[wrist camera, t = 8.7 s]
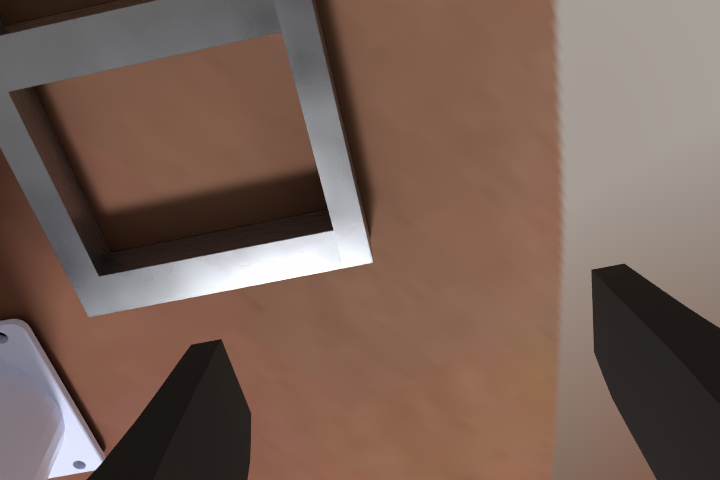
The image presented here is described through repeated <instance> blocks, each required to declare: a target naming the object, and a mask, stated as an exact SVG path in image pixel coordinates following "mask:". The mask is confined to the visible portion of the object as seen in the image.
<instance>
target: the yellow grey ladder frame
mask: <svg viewBox="0 0 720 480" xmlns="http://www.w3.org/2000/svg"><path fill="white" fill-rule="evenodd" d="M279 32H282V35H283V39H284V43H285V46H286V50H287V54H288V58H289V62H290V65H291V69H292V73H293V77H294V81H295V85H296V88H297V92H298V96H299V100H300V104H301V107H302V111H303V115H304V119H305V123H306V127H307V130H308V134H309V138H310V142H311V146H312V149H313V153H314V157H315V161H316V165H317V168H318V172H319V176H320V180H321V184H322V188H323V191H324V195H325V199H326V203H327V207H328V210H323V211H318V212H313V213H307V214H302V215H297V216H292V217H287V218H282V219H277V220H272V221H267V222H262V223H257V224H252V225H247V226H242V227H237V228H232V229H227V230H222V231H217V232H212V233H207V234H202V235H197V236H192V237H187V238H182V239H177V240H172V241H167V242H162V243H157V244H152V245H147V246H142V247H137V248H132V249H127V250H122V251H117V252H112V253H111V251H110V249H109V247H108V245H107V242H106V240H105V238H104V236H103V234H102V232H101V230H100V228H99V225H98V223H97V221H96V219H95V217H94V215H93V213H92V210H91V208H90V206H89V204H88V202H87V200H86V198H85V196H84V193H83V191H82V189H81V187H80V185H79V183H78V181H77V179H76V176H75V174H74V172H73V170H72V168H71V166H70V164H69V162H68V159H67V157H66V155H65V153H64V151H63V149H62V147H61V145H60V142H59V140H58V138H57V136H56V134H55V132H54V130H53V128H52V125H51V123H50V121H49V119H48V117H47V115H46V113H45V111H44V108H43V106H42V104H41V102H40V100H39V98H38V96H37V94H36V91H35V89H34V87H33V86H37V85H42V84H46V83H51V82H55V81H60V80H64V79H69V78H74V77H78V76H83V75H87V74H92V73H96V72H101V71H105V70H110V69H115V68H119V67H124V66H128V65H133V64H137V63H142V62H146V61H151V60H156V59H160V58H165V57H169V56H174V55H178V54H183V53H187V52H192V51H197V50H201V49H206V48H210V47H215V46H219V45H224V44H228V43H233V42H238V41H242V40H247V39H251V38H256V37H260V36H265V35H269V34H274V33H279ZM0 148H1V150H2V152H3V154H4V156H5V158H6V160H7V162H8V163H9V165H10V167H11V169H12V171H13V173H14V175H15V177H16V179H17V181H18V183H19V185H20V186H21V188H22V190H23V192H24V194H25V196H26V198H27V200H28V202H29V204H30V206H31V208H32V209H33V211H34V213H35V215H36V217H37V219H38V221H39V223H40V225H41V227H42V229H43V231H44V232H45V234H46V236H47V238H48V240H49V242H50V244H51V246H52V248H53V250H54V252H55V254H56V255H57V257H58V259H59V261H60V263H61V265H62V267H63V269H64V271H65V273H66V275H67V277H68V278H69V280H70V282H71V284H72V286H73V288H74V290H75V292H76V294H77V296H78V298H79V300H80V301H81V303H82V305H83V307H84V309H85V311H86V313H87V315H88V317H92V316H97V315H102V314H108V313H113V312H118V311H123V310H128V309H133V308H139V307H144V306H149V305H154V304H159V303H165V302H170V301H175V300H180V299H185V298H191V297H196V296H201V295H206V294H211V293H217V292H222V291H227V290H232V289H237V288H243V287H248V286H253V285H258V284H263V283H269V282H274V281H279V280H284V279H289V278H294V277H300V276H305V275H310V274H315V273H320V272H326V271H331V270H336V269H341V268H346V267H352V266H357V265H362V264H367V263H372V262H373V259H372V249H371V239H370V235H369V231H368V226H367V222H366V218H365V213H364V209H363V205H362V200H361V196H360V192H359V187H358V183H357V179H356V174H355V170H354V166H353V161H352V157H351V153H350V148H349V144H348V140H347V135H346V131H345V127H344V122H343V118H342V114H341V109H340V105H339V101H338V96H337V92H336V88H335V83H334V79H333V75H332V70H331V66H330V62H329V57H328V53H327V49H326V44H325V40H324V36H323V31H322V27H321V23H320V18H319V14H318V10H317V5H316V1H315V0H117V1H113V2H109V3H104V4H100V5H95V6H91V7H87V8H82V9H78V10H73V11H69V12H65V13H60V14H56V15H51V16H47V17H43V18H38V19H34V20H29V21H25V22H21V23H16V24H12V25H7V26H4V23H3V21H2V19H1V17H0Z"/></svg>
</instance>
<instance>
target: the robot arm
mask: <svg viewBox="0 0 720 480" xmlns="http://www.w3.org/2000/svg"><path fill="white" fill-rule="evenodd" d="M592 299H593V330H594V353H595V355H596V358H597V361H598V363H599V366H600V369H601V371H602V374H603V376H604V379H605V382H606V384H607V386H608V389H609V391H610V394H611V396H612V399H613V401H614V402H615V404H616V406H617V408H618V410H619V412H620V414H621V415H622V417H623V419H624V421H625V423H626V425H627V426H628V428H629V430H630V432H631V434H632V435H633V437H634V439H635V441H636V443H637V444H638V446H639V448H640V450H641V452H642V454H643V455H644V457H645V459H646V461H647V462H648V464H649V466H650V468H651V470H652V471H653V473H654V475H655V477H656V479H657V480H720V328H719V327H717V326H715V325H714V324H712V323H711V322H709V321H707V320H706V319H704V318H703V317H701V316H700V315H698V314H697V313H695V312H694V311H692V310H691V309H689V308H688V307H686V306H684V305H683V304H682V303H680V302H679V301H677V300H676V299H674V298H673V297H671V296H670V295H668V294H667V293H666V292H664V291H662V290H661V289H660V288H658V287H657V286H656V285H654V284H653V283H651V282H650V281H648V280H647V279H645V278H644V277H643V276H641V275H640V274H638V273H637V272H635V271H634V270H632V269H631V268H630V267H628V266H627V265H625V264H620V265H615V266H609V267H604V268H599V269H593V270H592ZM0 332H1V333H4V334H5V335H6V336H7V337H5V336H2V335H0V480H47V479H48V478H53V477H59V476H64V475H70V474H76V473H81V472H87V471H93V470H95V471H94V472H93V473H92V474H91V476H90V477H89V478H88V479H87V480H247V478H248V471H249V464H250V446H251V412H250V410H249V407H248V405H247V402H246V400H245V397H244V395H243V392H242V390H241V387H240V385H239V382H238V380H237V377H236V375H235V372H234V370H233V367H232V365H231V362H230V360H229V357H228V355H227V352H226V350H225V347H224V345H223V342H222V340H221V339H220V340H215V341H209V342H204V343H199V344H193V345H191V346H190V347H189V349H188V350H187V351H186V353H185V354H184V355H183V357H182V358H181V360H180V361H179V362H178V364H177V365H176V367H175V368H174V369H173V371H172V372H171V374H170V375H169V376H168V378H167V379H166V381H165V382H164V383H163V385H162V386H161V388H160V389H159V390H158V392H157V393H156V394H155V396H154V397H153V399H152V400H151V401H150V403H149V404H148V405H147V407H146V408H145V409H144V411H143V412H142V413H141V415H140V416H139V417H138V419H137V420H136V421H135V423H134V424H133V425H132V426H131V428H130V429H129V430H128V431H127V433H126V434H125V435H124V436H123V437H122V439H121V440H120V441H119V442H118V444H117V445H116V446H115V447H114V449H113V450H112V451H111V452H110V453H109V455H108V456H107V457H106V458H105V455H104V453H103V451H102V449H101V448H100V446H99V444H98V443H97V441H96V439H95V437H94V436H93V434H92V432H91V431H90V429H89V427H88V425H87V424H86V422H85V420H84V419H83V417H82V415H81V414H80V412H79V410H78V408H77V407H76V405H75V403H74V402H73V400H72V398H71V396H70V395H69V393H68V391H67V390H66V388H65V386H64V384H63V383H62V381H61V379H60V378H59V376H58V374H57V372H56V371H55V369H54V367H53V366H52V364H51V362H50V360H49V359H48V357H47V355H46V354H45V352H44V350H43V348H42V347H41V345H40V343H39V342H38V340H37V338H36V336H35V335H34V333H33V331H32V330H31V328H30V326H29V325H28V324H27V323H26V322H24V321H22V320H19V319H8V320H3V321H0ZM81 461H82V462H81Z"/></svg>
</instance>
